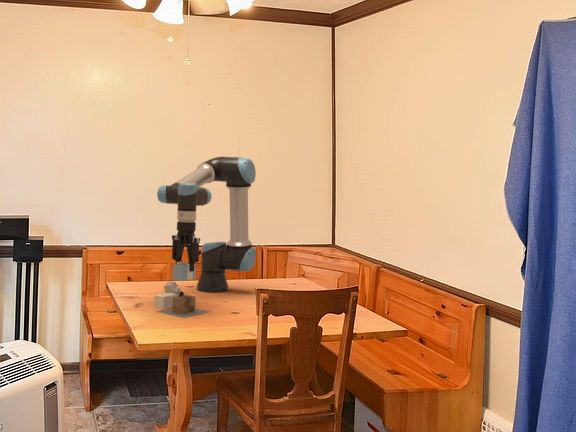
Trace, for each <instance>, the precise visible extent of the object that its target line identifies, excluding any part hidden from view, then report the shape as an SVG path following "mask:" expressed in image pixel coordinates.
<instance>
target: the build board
mask: <svg viewBox="0 0 576 432" xmlns="http://www.w3.org/2000/svg"><path fill="white" fill-rule="evenodd" d="M154 312H155V313H160V314H163V315H164V314H165V315H168V316H174V317H177V318H183V319H187V318H191V317H195V316H199V315H205V314H207V313H212V311H209V310H205V309H201V308H197V307H195V311H193V312H188V313H184V314H178V313H174V312H172V307H169V308H165V309H160V310H156V311H154Z"/></svg>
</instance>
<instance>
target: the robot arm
mask: <svg viewBox="0 0 576 432" xmlns="http://www.w3.org/2000/svg"><path fill="white" fill-rule="evenodd" d="M256 172H257V171H256V167H255V164H254V162H253V160H252V159H251V158H249V157H248V158H247V157H243V156H242V157H241V156H238V157H237V156H235V157H234V156H217V157H216V156H215V157H212V158H210V159H208V160H206V161H203V162H202V163H200V164H199V165H198V166H197V167H196V169H194V170H193V171H192V172H190V173H189V174H186V175H185V176H183V177H182V178H180V179H178V180H177V181H176V182H173V183H172V184H170V185H167V184H166V185H160V186H159V187H158V189H157V192H156V196H157V200H158V202H160V203H162V204H168V205H169V204H170V205H177V214H176V215H177V216H176V217H177V222H176V231H177V233H176V234H174V235H171V239H172V247H171V260H174V261H175V265H177V264H184V263H183V259H182V258H183V254H184V250H185V248H186V252H187V259H188V260H187V261H188V262H187V263H188V264H187V281H191V280H190V279H193V271H194V264H196V263H199V259H200V260H201V261H200V263H201V264H200V275H199V278H198V281H197V284H196V290H197V291H199V292H204V293H222V292H227V291H228V290H229V284H228V280H227V276H226V271H227V270H228V271H236V272H238V271H239V272H249V271H251V270H253V267H254V266H255V263H256V260H257V250H256V248H255V247H253V244H252V241H251V240H250V239H249V189H250V188H251V187H252V184H254V182H255V180H256V176H257V175H256ZM212 182H223V183H226V184H225V187H226V188H227V189H228V191H229V225H230V226H229V229H230V231H229V236H230V240H229V241H227V242H226V241H212V242H205V243H203V244H202V247H201V252H199V251H200V242H201V238H200V237H197V236H196V235H195V232H196V229H197V227H196V225H197V222H196V221H197V206H201V207H202V206H203V207H204V206H206V205H208V204H209V203H210V202H211V201H212V197H213V196H212V192H211V190H209V188H207V187H204V186H203V185H205V184H211V183H212ZM200 253H201V258H199V256H200V255H199V254H200ZM193 280H194V279H193Z"/></svg>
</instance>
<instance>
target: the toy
mask: <svg viewBox="0 0 576 432" xmlns="http://www.w3.org/2000/svg"><path fill="white" fill-rule="evenodd" d="M163 289H164V293H173V294H177V297H178V296H183V295H185V293H184V291H182V290H181V288H180V286H179V284H177V283H176V281H174V282H173V281H171V280H169V281H167V282H166V283H165V285H164V286H163Z"/></svg>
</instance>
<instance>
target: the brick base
mask: <svg viewBox="0 0 576 432" xmlns="http://www.w3.org/2000/svg"><path fill="white" fill-rule="evenodd" d="M171 308H172V312H174V313H178V314H184V313H188V312H193V311H195V308H196V296H194V295H190V294H189V295H188V294H184V295H183V296H178V297H173V304H172V307H171Z"/></svg>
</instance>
